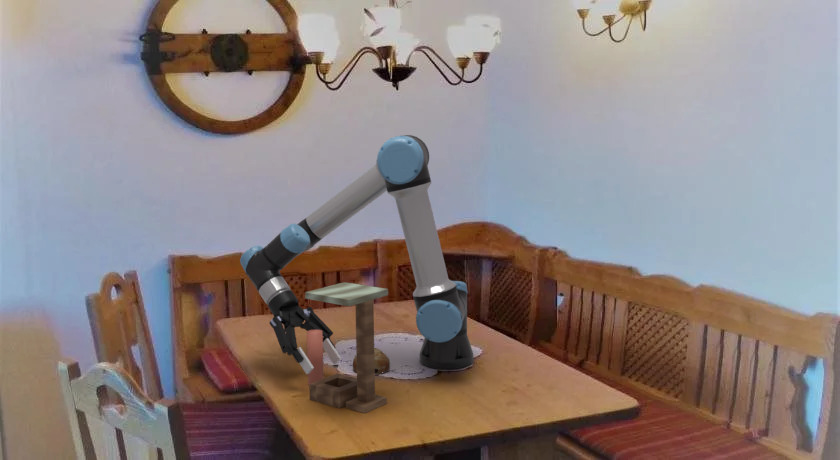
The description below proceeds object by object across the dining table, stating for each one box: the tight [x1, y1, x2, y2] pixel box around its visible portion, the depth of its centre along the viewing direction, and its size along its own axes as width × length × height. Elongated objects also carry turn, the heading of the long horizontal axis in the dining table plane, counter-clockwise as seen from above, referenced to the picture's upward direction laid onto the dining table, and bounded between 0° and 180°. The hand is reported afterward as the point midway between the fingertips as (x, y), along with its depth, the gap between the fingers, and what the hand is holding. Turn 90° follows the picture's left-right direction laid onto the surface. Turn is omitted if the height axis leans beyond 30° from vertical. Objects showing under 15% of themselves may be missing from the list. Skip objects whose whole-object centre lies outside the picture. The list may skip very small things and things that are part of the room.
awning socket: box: [304, 281, 389, 414], centre depth 193 cm, size 17×14×28 cm
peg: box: [306, 330, 325, 386], centre depth 207 cm, size 4×4×14 cm
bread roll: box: [352, 347, 390, 375], centre depth 219 cm, size 10×10×8 cm
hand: (324, 366), depth 205 cm, fingers open, 9 cm apart
